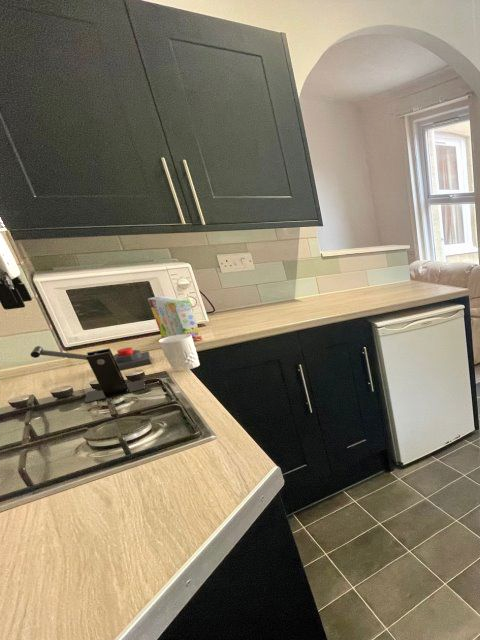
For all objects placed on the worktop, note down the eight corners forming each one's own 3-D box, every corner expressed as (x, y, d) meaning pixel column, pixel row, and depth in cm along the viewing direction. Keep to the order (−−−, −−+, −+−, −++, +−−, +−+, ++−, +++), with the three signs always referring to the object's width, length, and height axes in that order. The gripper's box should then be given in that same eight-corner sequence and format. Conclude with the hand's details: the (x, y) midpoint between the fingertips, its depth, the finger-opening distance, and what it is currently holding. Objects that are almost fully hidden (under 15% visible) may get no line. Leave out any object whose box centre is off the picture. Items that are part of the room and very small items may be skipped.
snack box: (204, 339, 156) (189, 299, 149) (187, 343, 151) (171, 302, 145) (177, 332, 166) (162, 294, 160) (160, 336, 161) (144, 298, 155)
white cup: (187, 375, 122) (174, 342, 118) (164, 374, 123) (151, 342, 119) (209, 365, 129) (197, 334, 125) (187, 364, 131) (175, 333, 126)
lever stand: (86, 407, 105) (63, 363, 100) (88, 396, 111) (67, 354, 106) (147, 392, 112) (128, 350, 107) (146, 382, 118) (128, 343, 113)
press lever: (29, 359, 97) (31, 349, 97) (33, 353, 101) (35, 343, 101) (107, 367, 106) (109, 358, 106) (108, 361, 111) (109, 352, 110)
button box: (110, 374, 126) (104, 361, 124) (111, 365, 133) (105, 354, 131) (152, 365, 132) (147, 353, 130) (150, 357, 139) (146, 346, 137)
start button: (119, 357, 128) (116, 352, 128) (119, 354, 131) (117, 349, 130) (134, 354, 130) (132, 349, 130) (134, 352, 133) (131, 346, 132)
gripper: (-39, 225, 92) (2, 302, 99) (-64, 227, 80) (-15, 314, 87) (10, 222, 96) (47, 296, 103) (-6, 224, 84) (37, 308, 91)
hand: (19, 304), depth 95 cm, fingers open, 9 cm apart
